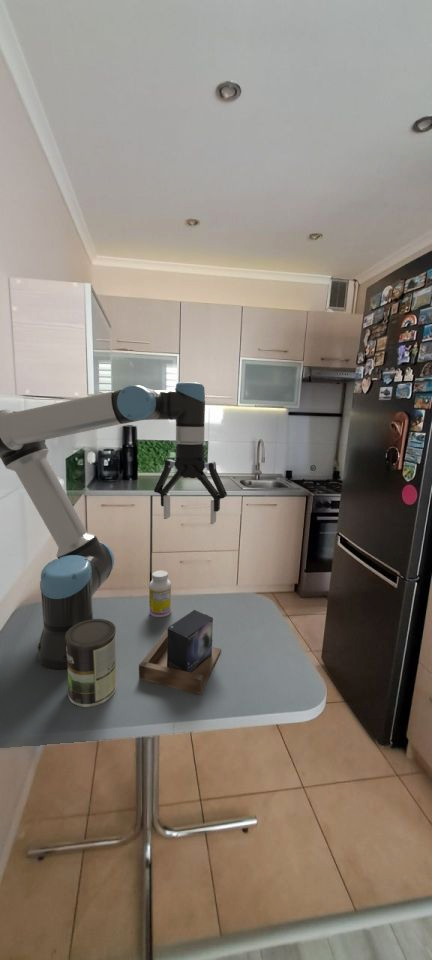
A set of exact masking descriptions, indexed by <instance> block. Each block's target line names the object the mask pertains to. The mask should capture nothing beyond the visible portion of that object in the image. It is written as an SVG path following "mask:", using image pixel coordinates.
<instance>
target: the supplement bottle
mask: <svg viewBox="0 0 432 960" xmlns="http://www.w3.org/2000/svg"><path fill="white" fill-rule="evenodd" d="M151 576H152V580H151V581H150V582H149V584H148V589H149V591H148V592H149V593H148V594H149V598H148V599H149V602H148V603H149V614H150V615H151V616H153V617H154V618H165V617H166V616H169V615H170V614H171V613H172V582H171V580H170V579H168V578H169V573H168V572H167V571H166V570H161V569H160V570H156V571H154V572H152V573H151Z"/></svg>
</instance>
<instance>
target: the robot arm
mask: <svg viewBox="0 0 432 960" xmlns="http://www.w3.org/2000/svg"><path fill="white" fill-rule="evenodd" d="M205 392H206V391H205V386H204V385H203V384H202V383H200V382H193V381H192V382H191V381H187V382H186V381H185V382H177V383H176V384H175V388H174V389H173V390H158V389H157V390H155V389H152V388H148V387H146V386H143V385H139V384H134V385H133V384H132V385H128V386H125V387H124V388H123V389H118V390H114V391H113V390H112V391H108V392H104V393H99V394H95V395H90V396H86V397H80V398H76V399H71V400H67V401H62V402H56V403H52V404H48V405H43V406H38V407H34V408H29V409H24V410H19V411H12V410H9V409H1V410H0V460H1V462H2V464H3V465H4V467H5V469H7V470H10V471H14V472H15V473H16V476H17V478H18V479H19V480H20V482H21V484H22V485H23V487H24V490H25V491H26V494H28V497H29V498H30V500H31V501H32V504H33V505H34V507H35V509H36V510H37V512H38V514H39V516H40V517H41V519H42V521H43V523H44V525H45V526H46V529H47V530H48V532H49V533H50V536H51V537H52V539H53V541H54V542H55V544H56V546H57V548H58V549H57V553H56V556H55V557H56V558H55V559H53V560H51V561H49V562H48V563H47V564H45V566H44V567H43V568H42V570H41V572H40V581H39V587H40V589H39V590H40V594H41V595H40V597H41V606H42V607H41V609H42V619H43V620H42V621H43V628H42V632H41V635H40V638H39V642H38V646H37V659H38V662H39V663H40V664H41V665H42V666H44V667H46V668H48V669H53V670H64V669H67V651H66V641H65V635H66V632H67V631H68V630H69V629H70V628H71V627H72V626H74V625H75V624H77V623H80V622H82V621H86V620H90V619H94V612H93V609H94V608H93V597H94V594H95V593H96V592H97V591H98V589H99V588H100V587H101V586H102V584H103V583H104V582H106V581H107V579H108V578H109V577H110V575H111V573H112V572H113V571H112V570H113V569H114V565H115V557H114V553H113V551H112V549H111V548H110V546H108V545H107V544H106V543H104V542H102V541H99V539H98V537H97V536H96V534H94V533H90V532H88V531H87V529H86V526H84V523H83V522H82V520H81V518H80V516H79V515H78V513H77V511H76V509H75V507H74V506H73V504H72V503H71V502H72V501H71V500H70V498H69V497H68V495H67V493H66V491H65V489H64V488H63V486H62V484H61V483H60V480H59V478H58V477H57V474H56V473H55V471H54V469H53V467H52V465H51V464H50V462H49V460H48V458H47V457H48V454H49V450H50V449H48V446H47V445H46V440H50V439H55V438H62V437H64V436H65V437H66V436H70V435H75V434H80V433H85V432H89V431H90V432H91V431H95V430H99V429H103V428H109V427H112V426H113V427H114V426H118V425H123V424H129V423H133V422H139V421H148V420H149V421H150V420H156V421H157V420H161V421H163V420H168V421H172V420H174V421H175V442H177V443H176V444H175V457H176V458H175V460H172V459H171V458H170V459H166V460H164V467H163V470H162V472H161V474H160V476H159V478H158V481H157V482H156V485H155V487H154V489H153V491H154V493H156V494H159V495H160V505H161V507H163V520H167V519H169V518H170V517H171V494H170V493H169V492H170V490H171V489H172V488H173V487H174V486H175V484H177V482H178V481H179V479H181V477H182V478H185V479H186V478H190V479H195V478H197V480H198V481H200V483H202V485H203V487H204V488H205V489H206V491H207V492H208V493H209V494H210V496H211V497H212V499H211V500H210V525H214V524H215V523H217V512H219V511H220V509H221V499H224V498H226V497H228V492H227V491H226V488H225V486H224V484H223V481H222V479H221V477H220V476H219V473H218V470H217V463H216V461H212V462H205V444H204V442H205V422H206V419H205V416H206V415H205V414H206V413H205V412H206V398H205V396H206V394H205ZM174 467H175V469H176V470H177V471H176V472H175V473H174V475H173V476H172V477H171V479H169V480H168V482H167V483H166V481H167V479H168V477H169V475H170V473H171V471H172V469H174ZM205 469H206V470H207V471H208V472H209V475H210V477H211V480H212V481H213V484H212V482H211V481H210V479H209V478H208V477H207V475H206V473H205V472H204V470H205Z"/></svg>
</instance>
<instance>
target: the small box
mask: <svg viewBox="0 0 432 960" xmlns="http://www.w3.org/2000/svg"><path fill="white" fill-rule="evenodd" d="M213 621H214V617H212V616H210V615H208V614H205V613H202V612H200V611H198V610H196V609H193V610H192V611H190V612H189V613H187V614H186V615H184V616H183V617H181V618H180V619H179V620H177V621H175V622H174V623H173V624H171V625H169V626H168V627H167V628H168V638H167V667H169V668H173V669H177V670H182V671H186V672H190V673H191V672H192V671H193V670H195V669H196V668H197V667H198V666H199V665H200V664H202V663H203V662H204V661H205V660H206V659H207V658H209V657H210V656H211V655H212V647H213V629H214V628H213V627H214V625H213Z"/></svg>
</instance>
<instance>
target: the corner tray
mask: <svg viewBox="0 0 432 960" xmlns="http://www.w3.org/2000/svg"><path fill="white" fill-rule="evenodd" d="M167 638H168V627H167V628H166V630H165V631H164V632H163V633H162V635H161V636H160V637H159V638H158V640H157V641H156V642H155V644H154V645H153V646H152V648H151V649H150V650H149V652H148V653H147V654H146V656H145V657H143V659H142V661H141V662H140V663H139V664H138V679H139V680H141V681H145V682H148V683H152V684H157V685H160V686H164V687H169V688H173V689H177V690H180V691H185V692H188V693H193V694H195V695H199V696H200V695H202V692H203V690H204V689H205V685H206V684H207V682H208V680H209V677H210V675H211V673H212V671H213V670H214V669H213V668H214V667H215V664H216V663H217V660H218V658H219V656H220V653H221V651H222V648H220V647H215V646H212V655H211V656H210V657H209V658H207V659H206V660H205V661H204V662H203V663H202V664H200V665H199V666H198V667H197V668H196V669H195V670H193V671H192V672H191V673H190V672H186V671H182V670H177V669H173V668H169V667H167Z"/></svg>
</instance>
